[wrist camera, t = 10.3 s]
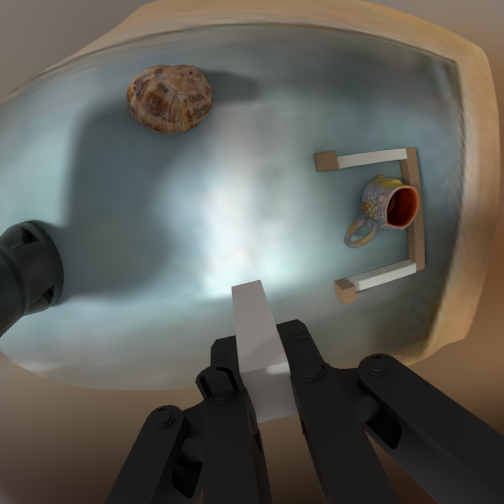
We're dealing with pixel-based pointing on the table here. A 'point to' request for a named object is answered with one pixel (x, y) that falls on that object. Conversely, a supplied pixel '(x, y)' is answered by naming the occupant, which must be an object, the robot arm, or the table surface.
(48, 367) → the table surface
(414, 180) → the pocket
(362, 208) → the mug
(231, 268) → the table surface
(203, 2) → the table surface
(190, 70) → the seashell
